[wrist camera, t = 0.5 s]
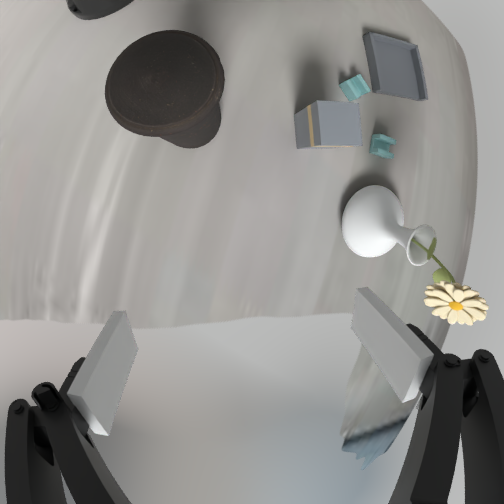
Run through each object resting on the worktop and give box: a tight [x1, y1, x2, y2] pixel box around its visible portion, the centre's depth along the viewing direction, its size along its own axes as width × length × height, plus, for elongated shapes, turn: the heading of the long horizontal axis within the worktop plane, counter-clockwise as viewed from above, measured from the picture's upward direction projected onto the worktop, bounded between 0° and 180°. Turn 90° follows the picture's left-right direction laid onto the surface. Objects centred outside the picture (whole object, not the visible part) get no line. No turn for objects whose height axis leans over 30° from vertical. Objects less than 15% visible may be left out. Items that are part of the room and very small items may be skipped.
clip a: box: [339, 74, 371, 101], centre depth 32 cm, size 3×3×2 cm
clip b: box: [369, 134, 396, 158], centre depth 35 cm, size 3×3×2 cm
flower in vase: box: [342, 185, 489, 325], centre depth 29 cm, size 13×11×25 cm
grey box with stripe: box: [294, 100, 362, 149], centre depth 30 cm, size 5×5×10 cm
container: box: [105, 30, 225, 148], centre depth 23 cm, size 9×9×20 cm
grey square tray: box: [363, 32, 428, 101], centre depth 31 cm, size 11×10×2 cm
